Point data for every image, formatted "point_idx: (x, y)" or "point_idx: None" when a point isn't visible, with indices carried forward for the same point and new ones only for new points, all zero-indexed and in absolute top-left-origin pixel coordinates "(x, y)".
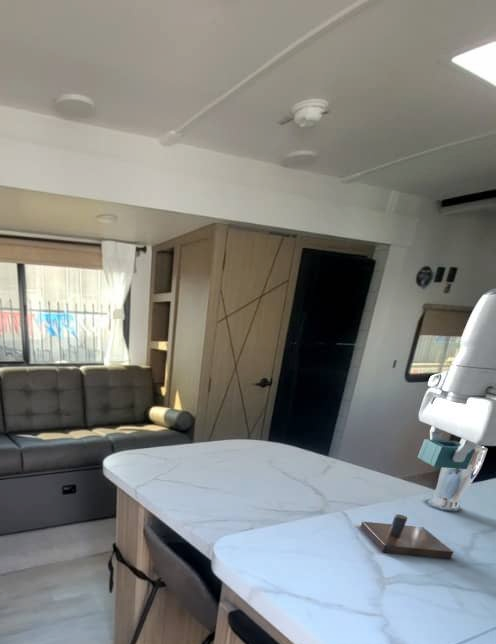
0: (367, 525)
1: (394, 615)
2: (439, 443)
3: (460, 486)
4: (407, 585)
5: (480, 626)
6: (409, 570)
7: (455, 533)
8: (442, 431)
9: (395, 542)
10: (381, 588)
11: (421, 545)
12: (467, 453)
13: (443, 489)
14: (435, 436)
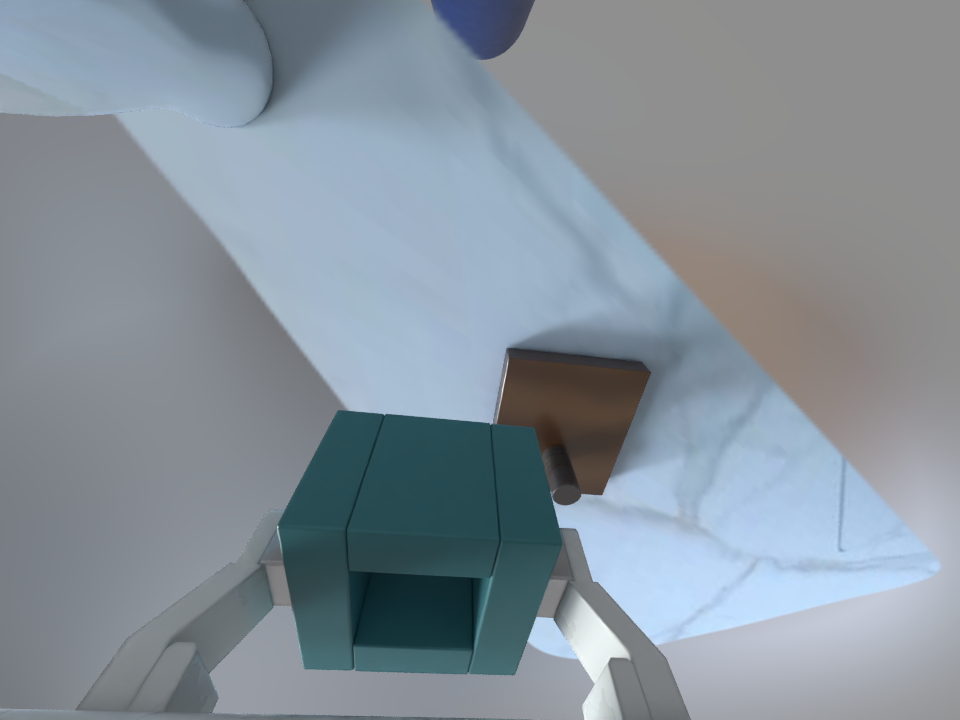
0: None
1: (764, 546)
2: (418, 653)
3: (188, 30)
4: (708, 497)
5: (832, 460)
6: (667, 470)
7: (499, 227)
8: (195, 675)
9: (592, 470)
10: (704, 533)
11: (612, 427)
12: (598, 585)
13: (183, 101)
14: (230, 632)
